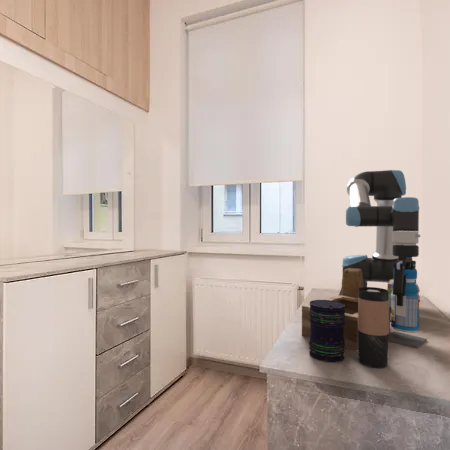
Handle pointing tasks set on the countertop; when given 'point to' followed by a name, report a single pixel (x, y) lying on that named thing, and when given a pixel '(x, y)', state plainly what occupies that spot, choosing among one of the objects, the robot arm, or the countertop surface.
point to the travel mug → (373, 326)
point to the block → (351, 282)
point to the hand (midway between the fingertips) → (405, 313)
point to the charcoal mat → (406, 339)
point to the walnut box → (350, 320)
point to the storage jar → (327, 330)
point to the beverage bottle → (407, 305)
